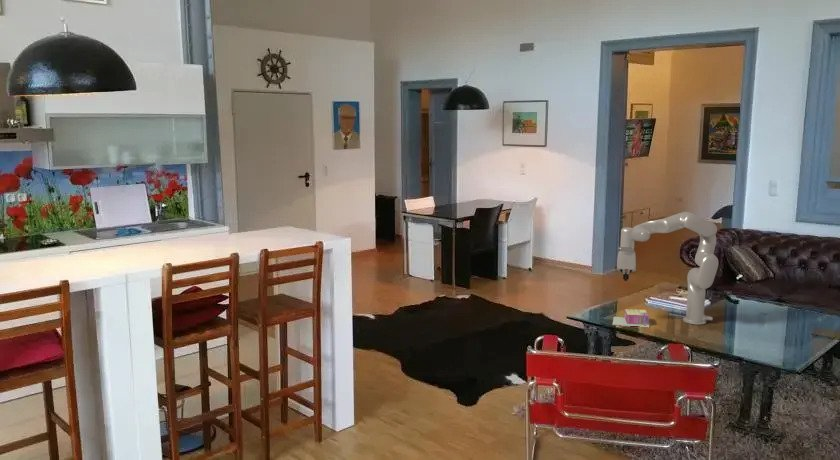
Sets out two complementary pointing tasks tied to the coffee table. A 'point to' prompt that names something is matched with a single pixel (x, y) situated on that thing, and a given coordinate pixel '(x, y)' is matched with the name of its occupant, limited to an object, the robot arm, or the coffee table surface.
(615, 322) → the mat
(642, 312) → the box
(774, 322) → the coffee table surface
